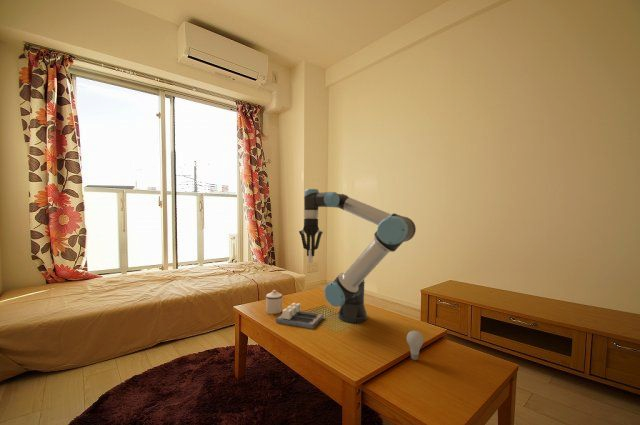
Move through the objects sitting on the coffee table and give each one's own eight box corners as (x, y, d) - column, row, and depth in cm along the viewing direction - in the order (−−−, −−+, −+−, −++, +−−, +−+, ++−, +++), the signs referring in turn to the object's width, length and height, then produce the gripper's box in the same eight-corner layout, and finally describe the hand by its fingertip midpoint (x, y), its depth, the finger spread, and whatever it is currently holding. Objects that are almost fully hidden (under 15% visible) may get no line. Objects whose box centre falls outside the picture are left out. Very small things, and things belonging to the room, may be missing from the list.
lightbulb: (409, 354, 110) (410, 326, 110) (425, 359, 106) (426, 331, 106) (403, 360, 106) (404, 331, 106) (419, 366, 102) (420, 336, 102)
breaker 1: (292, 317, 140) (292, 309, 140) (289, 319, 137) (289, 311, 137) (285, 316, 142) (285, 308, 142) (282, 318, 139) (282, 309, 139)
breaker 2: (296, 314, 145) (296, 306, 145) (293, 316, 142) (293, 307, 142) (289, 313, 146) (289, 305, 146) (286, 314, 144) (286, 306, 144)
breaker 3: (300, 311, 150) (300, 303, 150) (297, 312, 147) (297, 304, 147) (293, 310, 151) (293, 302, 151) (290, 311, 148) (291, 303, 148)
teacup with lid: (285, 311, 155) (285, 290, 155) (271, 315, 148) (272, 293, 148) (272, 306, 163) (272, 286, 163) (259, 309, 156) (259, 289, 156)
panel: (323, 318, 146) (323, 312, 146) (312, 329, 132) (313, 323, 132) (289, 312, 153) (289, 307, 153) (275, 322, 139) (275, 316, 139)
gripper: (324, 218, 150) (324, 262, 150) (302, 217, 154) (301, 260, 153) (320, 218, 143) (320, 264, 143) (297, 217, 147) (296, 262, 146)
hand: (310, 262), depth 148 cm, fingers closed
